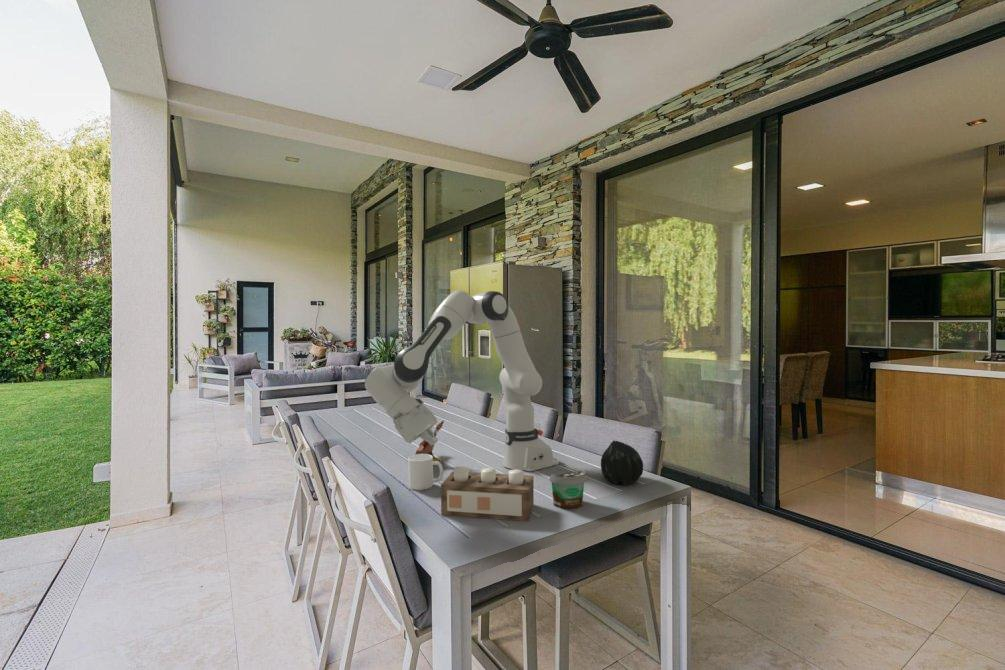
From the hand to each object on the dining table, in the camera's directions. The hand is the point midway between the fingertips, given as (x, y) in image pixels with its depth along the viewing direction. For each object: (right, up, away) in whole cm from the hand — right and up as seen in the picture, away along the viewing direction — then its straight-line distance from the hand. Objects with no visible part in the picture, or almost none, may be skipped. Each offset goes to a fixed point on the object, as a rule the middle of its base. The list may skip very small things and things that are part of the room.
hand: (435, 443), depth 142 cm
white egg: (+8, -13, -1) cm, 15 cm away
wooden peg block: (+17, -20, -2) cm, 26 cm away
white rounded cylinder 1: (+17, -13, -3) cm, 21 cm away
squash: (+63, -19, +21) cm, 69 cm away
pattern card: (+15, -18, -9) cm, 26 cm away
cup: (-6, -19, +17) cm, 26 cm away
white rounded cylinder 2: (+25, -13, -4) cm, 28 cm away
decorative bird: (-9, -18, +43) cm, 47 cm away
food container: (+42, -20, -1) cm, 46 cm away
